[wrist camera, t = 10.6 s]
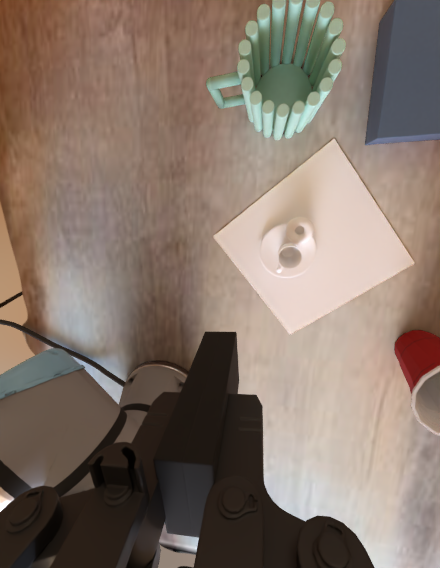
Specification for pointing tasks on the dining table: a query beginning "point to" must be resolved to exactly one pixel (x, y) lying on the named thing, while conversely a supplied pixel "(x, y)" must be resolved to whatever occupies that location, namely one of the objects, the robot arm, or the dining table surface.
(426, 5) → the block
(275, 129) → the green rod mug
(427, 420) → the plastic cup
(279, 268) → the teacup and saucer
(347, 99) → the dining table surface
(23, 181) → the dining table surface
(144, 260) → the dining table surface
